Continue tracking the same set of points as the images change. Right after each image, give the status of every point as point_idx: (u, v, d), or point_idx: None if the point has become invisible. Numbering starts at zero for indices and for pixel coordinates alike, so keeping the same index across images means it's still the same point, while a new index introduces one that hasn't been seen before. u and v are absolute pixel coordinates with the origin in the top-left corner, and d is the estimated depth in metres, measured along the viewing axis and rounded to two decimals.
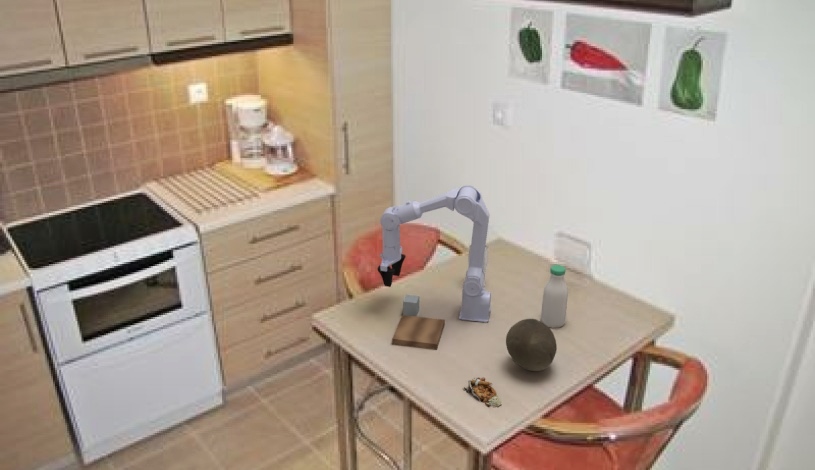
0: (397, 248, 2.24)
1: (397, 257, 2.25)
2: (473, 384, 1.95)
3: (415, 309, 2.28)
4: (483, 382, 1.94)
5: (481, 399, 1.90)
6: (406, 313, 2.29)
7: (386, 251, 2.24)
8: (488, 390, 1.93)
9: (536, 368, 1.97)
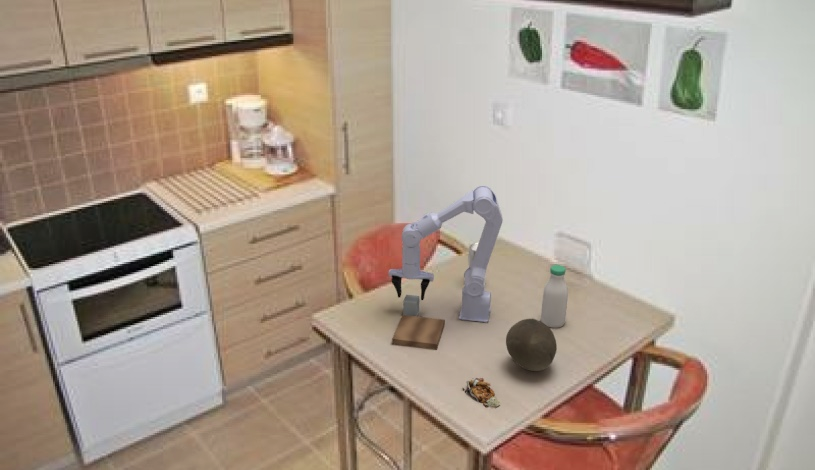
0: (405, 265, 2.21)
1: (405, 274, 2.23)
2: (471, 385, 1.95)
3: (415, 309, 2.28)
4: (481, 383, 1.94)
5: (479, 400, 1.90)
6: (406, 313, 2.29)
7: None
8: (486, 391, 1.93)
9: (536, 368, 1.97)
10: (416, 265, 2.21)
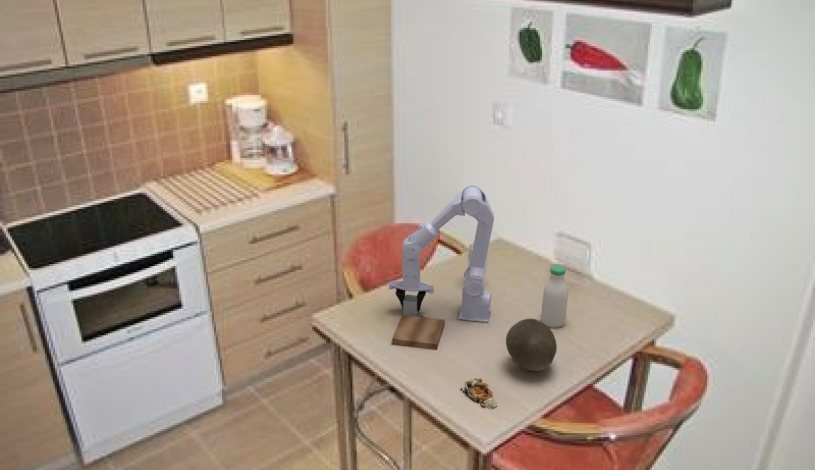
0: (405, 278, 2.23)
1: (405, 287, 2.25)
2: (470, 385, 1.95)
3: (415, 309, 2.28)
4: (479, 383, 1.93)
5: (477, 400, 1.90)
6: (406, 313, 2.29)
7: None
8: (484, 391, 1.93)
9: (536, 368, 1.97)
10: (416, 277, 2.23)
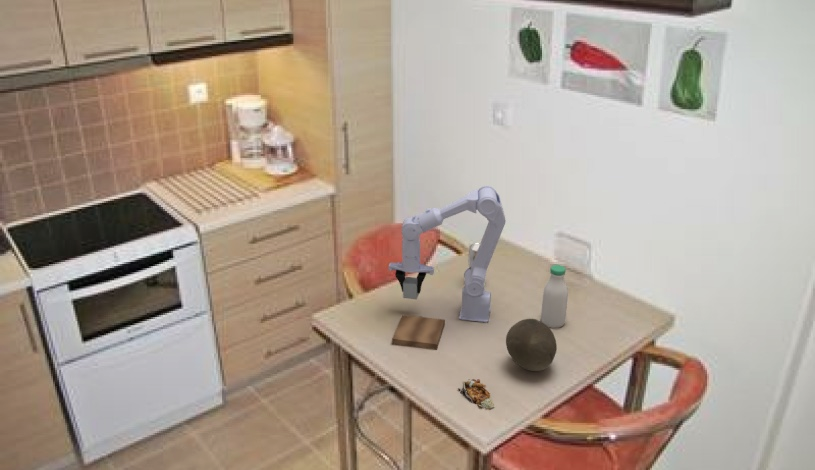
0: (405, 259, 2.20)
1: (405, 268, 2.22)
2: (467, 385, 1.95)
3: (415, 291, 2.25)
4: (477, 384, 1.93)
5: (474, 401, 1.90)
6: (406, 295, 2.26)
7: None
8: (482, 392, 1.92)
9: (536, 368, 1.97)
10: (416, 258, 2.20)
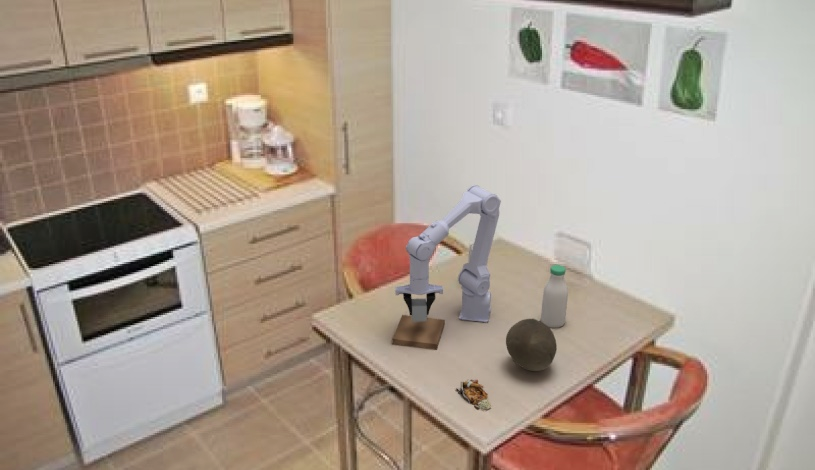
0: (415, 281, 2.09)
1: (415, 290, 2.10)
2: (465, 386, 1.95)
3: (425, 313, 2.14)
4: (475, 384, 1.93)
5: (471, 401, 1.90)
6: (415, 318, 2.15)
7: None
8: (479, 393, 1.92)
9: (536, 368, 1.97)
10: (426, 279, 2.09)
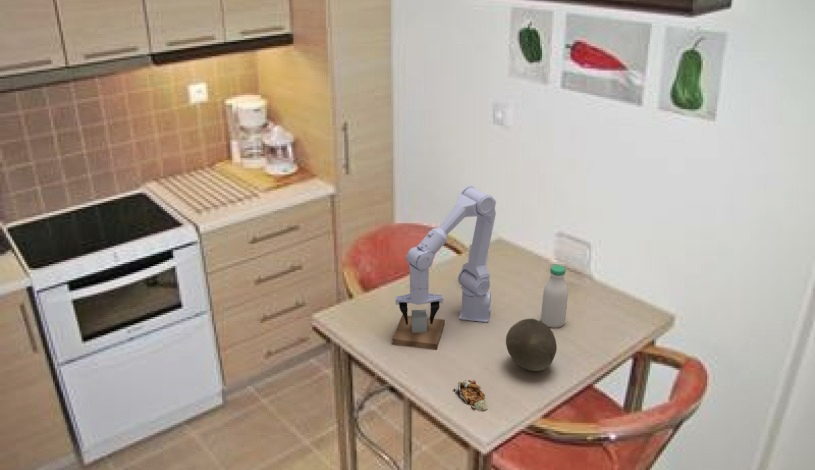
0: (415, 290, 2.10)
1: (415, 300, 2.12)
2: (463, 386, 1.94)
3: (425, 324, 2.16)
4: (472, 385, 1.93)
5: (468, 402, 1.90)
6: (415, 329, 2.17)
7: None
8: (477, 393, 1.92)
9: (536, 368, 1.97)
10: (426, 289, 2.11)
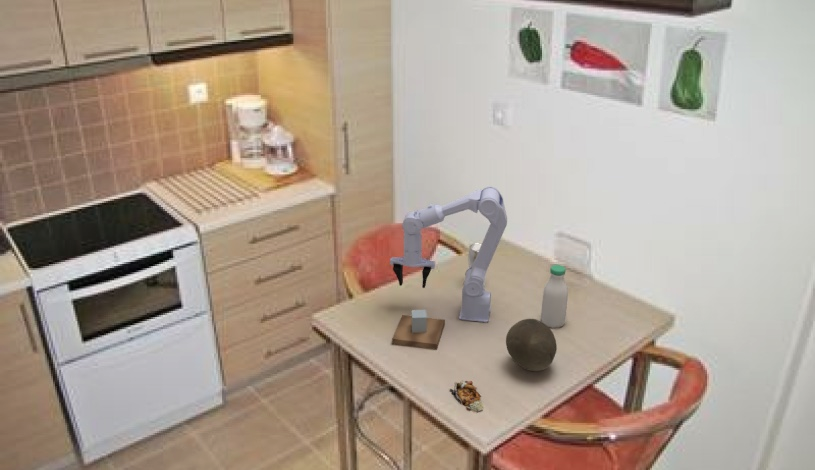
0: (407, 253, 2.21)
1: (407, 262, 2.23)
2: (459, 387, 1.94)
3: (425, 324, 2.16)
4: (469, 386, 1.92)
5: (463, 402, 1.89)
6: (415, 329, 2.17)
7: None
8: (473, 394, 1.92)
9: (536, 368, 1.97)
10: (417, 253, 2.21)
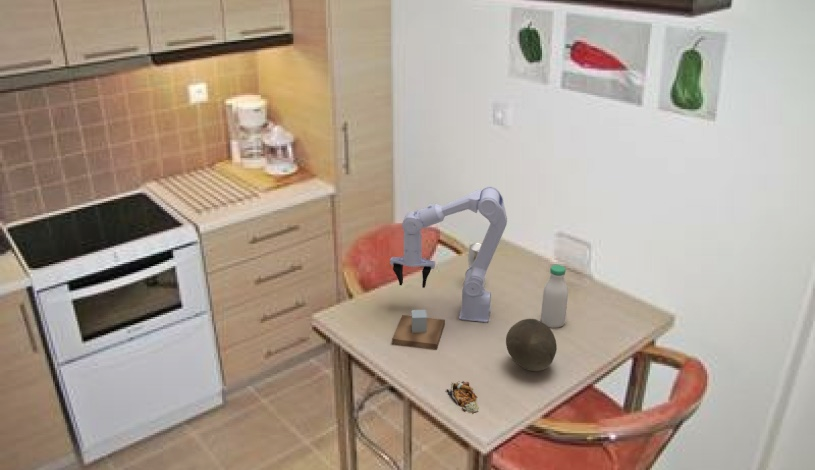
0: (407, 253, 2.22)
1: (407, 262, 2.23)
2: (456, 387, 1.94)
3: (425, 324, 2.16)
4: (465, 386, 1.92)
5: (459, 403, 1.89)
6: (415, 329, 2.17)
7: None
8: (469, 395, 1.91)
9: (536, 368, 1.97)
10: (417, 252, 2.22)
